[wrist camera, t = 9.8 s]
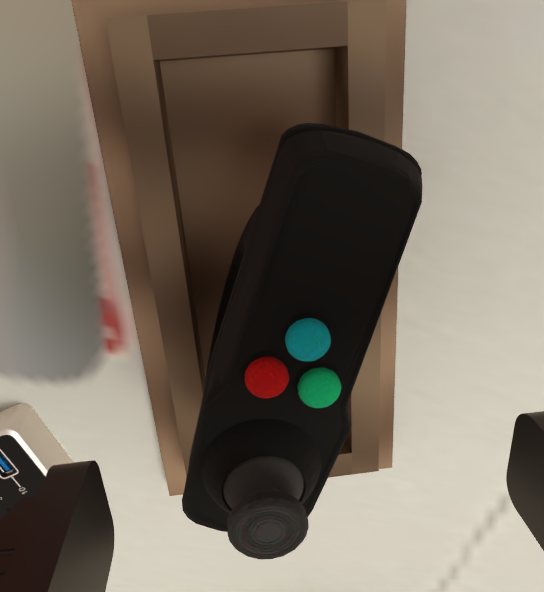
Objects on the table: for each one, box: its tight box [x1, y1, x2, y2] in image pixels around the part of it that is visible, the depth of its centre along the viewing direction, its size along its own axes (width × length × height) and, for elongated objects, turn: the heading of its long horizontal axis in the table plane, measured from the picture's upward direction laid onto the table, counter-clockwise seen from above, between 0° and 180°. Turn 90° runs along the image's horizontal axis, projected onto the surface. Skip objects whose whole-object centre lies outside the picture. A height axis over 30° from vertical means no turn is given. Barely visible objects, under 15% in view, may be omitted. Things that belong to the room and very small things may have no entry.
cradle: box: [71, 0, 406, 496], centre depth 20 cm, size 22×11×3 cm, turn 4°
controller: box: [182, 123, 422, 559], centre depth 16 cm, size 4×12×10 cm, turn 164°
